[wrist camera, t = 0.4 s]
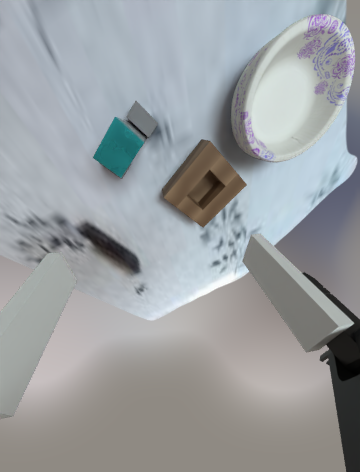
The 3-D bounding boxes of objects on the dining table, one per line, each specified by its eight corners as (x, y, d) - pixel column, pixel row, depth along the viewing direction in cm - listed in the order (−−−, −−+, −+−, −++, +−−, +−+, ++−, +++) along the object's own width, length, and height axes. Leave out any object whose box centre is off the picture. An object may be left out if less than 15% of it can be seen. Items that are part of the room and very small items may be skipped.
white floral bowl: (209, 139, 29) (225, 142, 23) (255, 18, 21) (300, -30, 15) (269, 166, 34) (297, 175, 27) (325, 74, 26) (382, 56, 20)
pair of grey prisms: (104, 160, 28) (99, 163, 26) (137, 103, 24) (135, 100, 22) (124, 174, 30) (121, 178, 28) (157, 124, 26) (158, 123, 24)
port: (162, 189, 33) (163, 197, 29) (201, 139, 29) (210, 141, 25) (197, 217, 38) (203, 227, 34) (235, 178, 34) (246, 184, 30)
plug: (113, 147, 27) (92, 157, 18) (128, 121, 26) (115, 116, 16) (131, 161, 29) (121, 177, 19) (146, 137, 27) (144, 142, 18)
